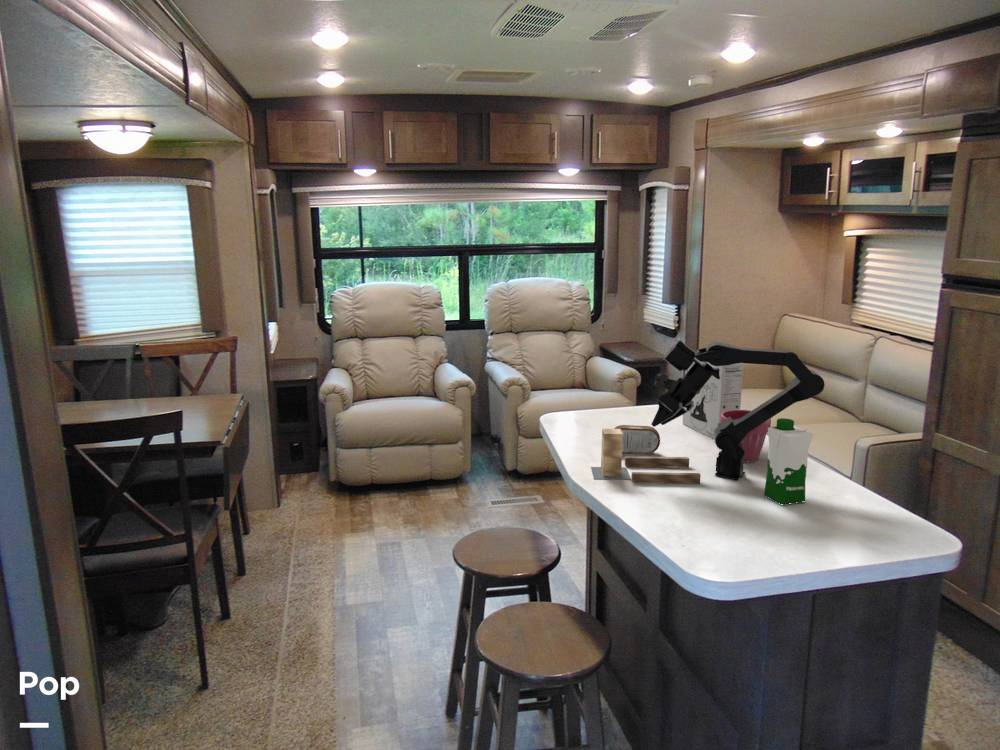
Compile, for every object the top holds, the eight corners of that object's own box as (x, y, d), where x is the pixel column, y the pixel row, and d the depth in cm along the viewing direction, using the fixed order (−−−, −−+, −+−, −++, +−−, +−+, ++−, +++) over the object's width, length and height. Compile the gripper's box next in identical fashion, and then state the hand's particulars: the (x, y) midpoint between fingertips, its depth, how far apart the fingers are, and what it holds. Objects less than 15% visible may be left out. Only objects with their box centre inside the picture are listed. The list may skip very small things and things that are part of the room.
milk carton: (787, 491, 191) (794, 416, 187) (811, 503, 183) (818, 426, 179) (758, 494, 189) (764, 419, 185) (781, 507, 180) (788, 428, 176)
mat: (626, 467, 209) (626, 467, 209) (631, 479, 199) (631, 479, 199) (590, 467, 209) (590, 466, 209) (594, 479, 199) (594, 478, 199)
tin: (659, 452, 223) (660, 425, 221) (660, 455, 220) (661, 428, 218) (608, 450, 225) (609, 423, 223) (609, 453, 222) (610, 426, 220)
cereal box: (681, 423, 254) (686, 352, 249) (701, 422, 257) (705, 351, 252) (717, 441, 234) (723, 364, 229) (738, 439, 236) (744, 363, 231)
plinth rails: (687, 465, 211) (688, 457, 210) (700, 483, 196) (700, 475, 196) (624, 464, 211) (625, 456, 211) (632, 482, 197) (632, 473, 196)
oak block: (618, 470, 206) (620, 428, 204) (621, 476, 201) (622, 434, 199) (600, 469, 206) (602, 428, 204) (602, 475, 202) (604, 433, 199)
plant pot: (760, 468, 209) (763, 424, 207) (711, 459, 217) (714, 417, 214) (773, 455, 221) (776, 413, 218) (726, 447, 228) (729, 407, 226)
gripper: (678, 363, 211) (644, 405, 216) (661, 362, 195) (625, 407, 199) (708, 388, 207) (673, 430, 212) (694, 389, 191) (656, 434, 195)
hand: (657, 424), depth 204 cm, fingers open, 9 cm apart
